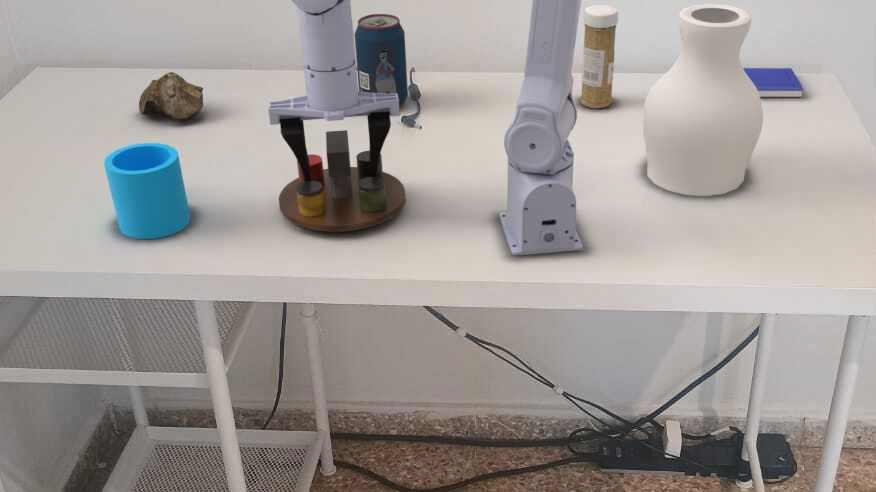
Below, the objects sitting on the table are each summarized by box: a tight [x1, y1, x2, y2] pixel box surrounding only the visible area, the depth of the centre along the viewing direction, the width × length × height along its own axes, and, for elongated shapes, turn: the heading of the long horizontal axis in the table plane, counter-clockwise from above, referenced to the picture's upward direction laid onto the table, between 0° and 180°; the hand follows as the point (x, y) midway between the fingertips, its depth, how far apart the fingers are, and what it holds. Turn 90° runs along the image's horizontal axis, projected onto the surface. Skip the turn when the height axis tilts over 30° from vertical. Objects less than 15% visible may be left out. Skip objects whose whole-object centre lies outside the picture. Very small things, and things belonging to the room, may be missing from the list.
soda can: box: [354, 13, 409, 109], centre depth 146 cm, size 7×7×12 cm
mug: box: [103, 142, 191, 240], centre depth 121 cm, size 12×8×8 cm
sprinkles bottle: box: [580, 4, 619, 109], centre depth 144 cm, size 5×5×14 cm
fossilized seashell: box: [138, 71, 204, 122], centre depth 146 cm, size 8×7×10 cm
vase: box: [642, 3, 764, 197], centre depth 124 cm, size 14×14×20 cm
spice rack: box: [278, 129, 407, 233], centre depth 121 cm, size 15×15×8 cm
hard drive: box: [743, 67, 804, 98], centre depth 152 cm, size 2×8×12 cm
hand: (340, 175), depth 121 cm, fingers open, 7 cm apart
